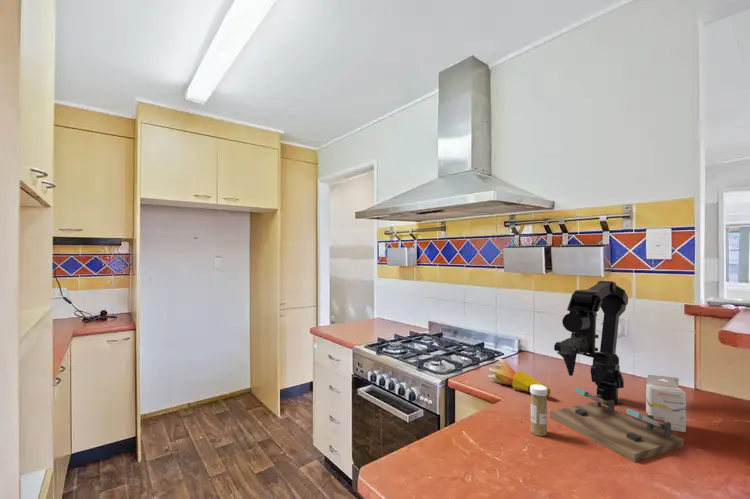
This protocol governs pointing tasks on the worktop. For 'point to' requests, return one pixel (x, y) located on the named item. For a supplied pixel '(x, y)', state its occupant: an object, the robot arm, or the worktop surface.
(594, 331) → the robot arm
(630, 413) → the bar
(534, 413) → the sprinkles bottle
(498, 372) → the torch
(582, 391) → the bar
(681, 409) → the ink cartridge box
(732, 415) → the worktop surface
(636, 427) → the jig board
